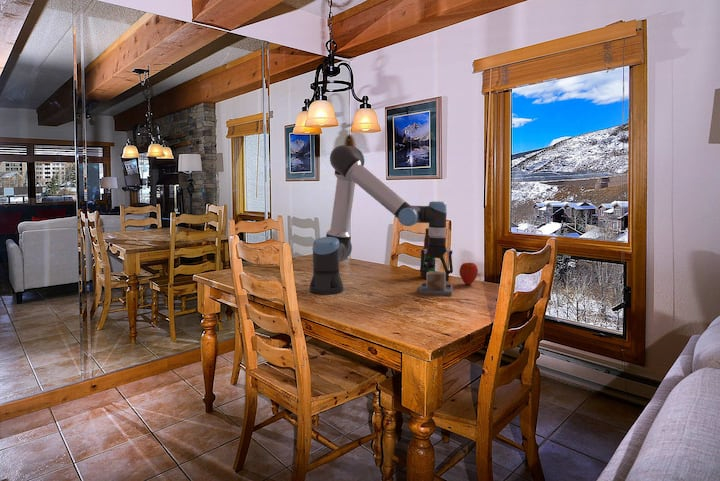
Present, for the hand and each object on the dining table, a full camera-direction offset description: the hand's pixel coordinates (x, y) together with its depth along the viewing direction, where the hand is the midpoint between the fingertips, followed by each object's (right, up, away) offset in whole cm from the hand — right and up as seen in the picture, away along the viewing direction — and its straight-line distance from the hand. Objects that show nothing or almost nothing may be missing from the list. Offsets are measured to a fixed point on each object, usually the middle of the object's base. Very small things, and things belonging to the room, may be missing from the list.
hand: (435, 287), depth 206 cm
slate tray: (0, -1, 0) cm, 2 cm away
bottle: (+1, +2, +29) cm, 29 cm away
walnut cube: (0, 0, 0) cm, 0 cm away
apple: (+17, 0, +13) cm, 21 cm away
